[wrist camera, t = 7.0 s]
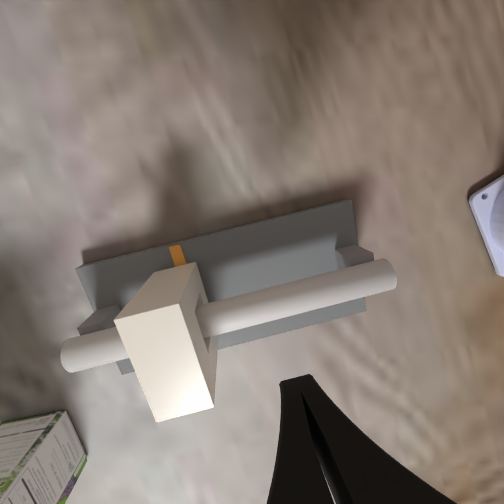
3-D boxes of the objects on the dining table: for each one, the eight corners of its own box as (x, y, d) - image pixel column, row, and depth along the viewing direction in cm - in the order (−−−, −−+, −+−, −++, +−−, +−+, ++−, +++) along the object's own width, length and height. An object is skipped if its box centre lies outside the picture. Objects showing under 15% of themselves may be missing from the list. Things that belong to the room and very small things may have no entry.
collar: (195, 261, 18) (178, 303, 12) (218, 334, 20) (214, 406, 13) (154, 272, 18) (113, 320, 12) (179, 344, 20) (156, 422, 13)
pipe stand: (345, 199, 20) (391, 204, 14) (360, 305, 22) (403, 344, 16) (82, 264, 19) (25, 296, 14) (126, 366, 21) (92, 427, 16)
